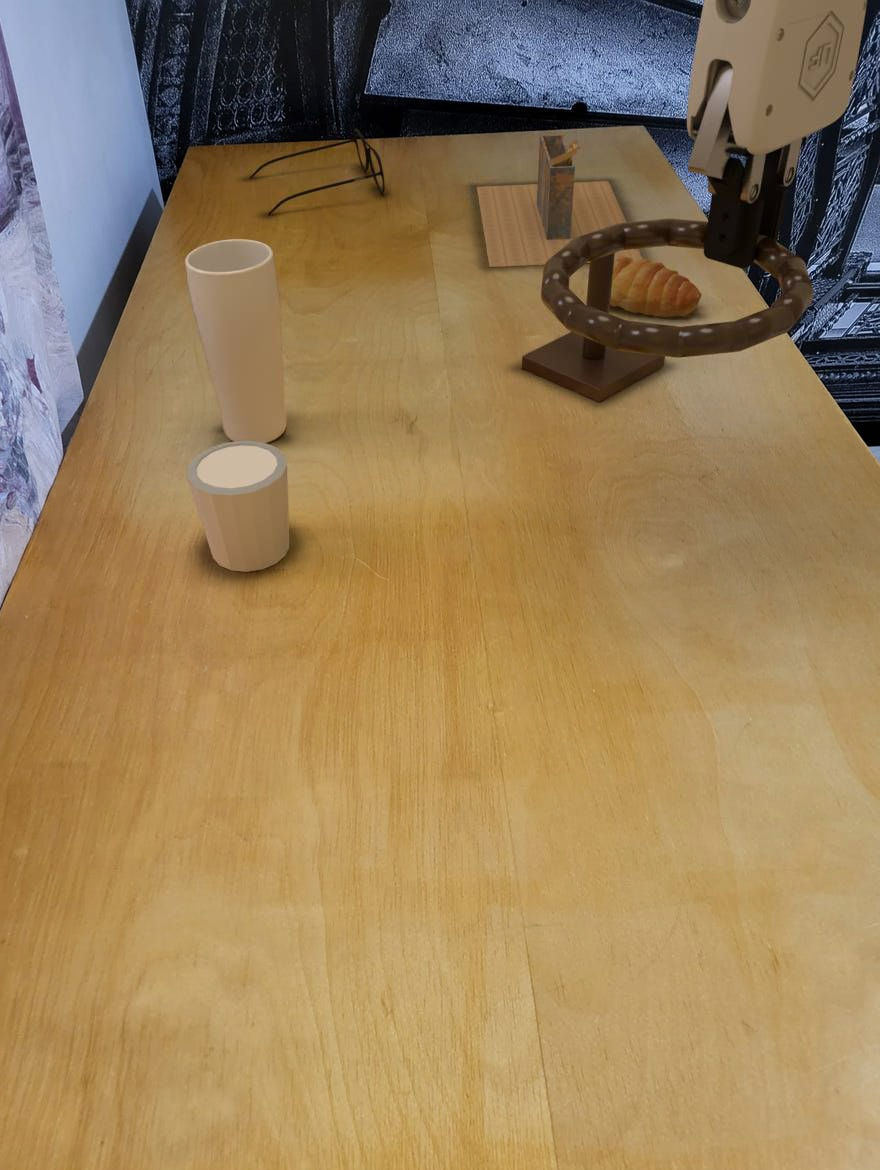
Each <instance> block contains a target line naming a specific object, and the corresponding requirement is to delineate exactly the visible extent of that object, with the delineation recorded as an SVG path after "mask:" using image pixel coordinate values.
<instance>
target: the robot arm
mask: <svg viewBox="0 0 880 1170" xmlns="http://www.w3.org/2000/svg"><path fill="white" fill-rule="evenodd" d="M867 5H868V0H704V1H703V5H702V10H701V14H700V20H699V26H698V30H697V36H696V42H695V48H694V54H693V60H692V67H691V72H690V73H691V74H690V81H689V89H688V96H687V97H688V98H687V108H686V109H687V111H686V130H687V133H688V135H689V137H690V138H691V139H692V140H693V141H694V144H693V146H692V150H691V153H690V157H689V159H688V164H687V165H688V166H687V167H688V171H690V172H692V173H696V174H699V175H704V176H706V178H707V180H708V181H707V192H708V193H709V194H710V195H711V199H710V205H709V212H708V219H707V222H708V225H707V231H706V238H705V245H704V249H703V255H704V257H705V258H706V259H708V260H711V261H715V262H719V263H722V264H724V265H728V266H731V267H734V268H737V269H740V270H746V269H747V268H750V267H751V266H752V265H753V264H754V262H753V261H754V256H755V251H756V245H757V240H758V234H761V235H765V236H768V237H770V238H772V239H774V240H775V241H776V242H778V240H779V236H780V231H781V225H782V220H783V215H784V209H785V206H786V205H785V204H786V199H787V194H788V190H789V189H788V188H786V187H788V186H789V185H791V184H792V182H793V180H794V178H795V175H796V171H797V167H798V162H799V157H800V152H801V150H802V148H803V147H804V146H805V144H806V142H807V140H808V138H809V137H810V136H811V135H812V134H814V133H816V132H818V131H820V130H823V129H824V128H826V127H828V126H829V125H831V124H833V123H835V122H836V121H837V120H838V119H839V118H841V117H842V116H843V114H844V113H845V111H846V110H847V108H848V105H849V102H850V98H851V95H852V94H851V93H852V89H853V84H854V79H855V73H856V68H857V63H858V58H859V51H860V47H861V41H862V36H863V30H864V23H865V17H866V11H867ZM732 154H733V155H737V156H740V157H745V162H744V164H743V162H742V160H741V159H740V158H738V157H734V156H732ZM782 186H783V187H782Z"/></svg>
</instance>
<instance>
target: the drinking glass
mask: <svg viewBox="0 0 880 1170" xmlns="http://www.w3.org/2000/svg"><path fill="white" fill-rule="evenodd" d="M184 266H185V272H186V273H185V274H186V281H187V289H188V293H189V300H190V304H191V310H192V314H193V318H194V323H195V325H196V329H197V333H198V336H199V337H198V338H199V340H200V343H201V347H202V351H203V355H204V358H205V362H206V366H207V369H208V373H209V376H210V379H211V383H212V387H213V390H214V395H215V398H216V402H217V405H218V410H219V414H220V419H221V425H222V430H223V433H224V435H225V437H227V439H229V440H230V441H231V442H235V441H257V442H263V443H266V444H268V443H270V442H273V441H274V440H276V439H278V438H279V437H281V436H282V434H284V433H285V431H286V429H287V423H288V420H287V419H288V418H287V411H286V403H285V385H284V359H283V358H284V357H283V331H282V328H283V327H282V308H281V307H282V306H281V295H280V294H281V293H280V287H279V279H278V273H277V267H276V261H275V256H274V251H273V249H272V248H271V247H270V246H269V245H268V244H266V243H264V242H261V241H259V240H254V239H246V238H245V239H243V238H230V239H223V240H217V241H212V242H209V243H206V244H203V245H199V246H198V247H196V248H194V249H193V250H192V251H190V252H188V254H186V257H185V259H184Z"/></svg>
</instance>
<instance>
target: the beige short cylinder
mask: <svg viewBox="0 0 880 1170" xmlns="http://www.w3.org/2000/svg"><path fill="white" fill-rule="evenodd" d="M186 474H187V481H188V485H189V487H190V490H191V494H192V498H193V500H194V503H195V506H196V509H197V512H198V515H199V520H200V522H201V525H202V529H203V532H204V534H205V537H206V541H207V543H208V544H207V545H208V547H209V550H210V552H211V557H212V558H213V560H214V561H215V562H216V563H217V564H218V566H220V567H222V568H225V569H227V570H230V571H232V572H242V573H243V572H244V573H248V572H249V573H250V572H255V571H261V570H265V569H266V568H269V567H271V566H274V565H276V564H278V563H279V562H280V561H281V560H282V559H283V558H285V557H286V555H287V553H288V551H289V549H290V519H289V481H288V479H289V478H288V463H287V458H286V454H285V453H283V452H282V451H281V450H280V449H279V447H277V446H274V445H271V444H269V443H263V442H257V441H235V442H234V441H229V442H223V443H220V444H218V445H214V446H212V447H209V448H206V449H205V450H203V451H202V452H200V453H199V454H197V455H196V456H195V457H193V459H192V460H191V462H190V463H189V464H188V466H187V467H186Z"/></svg>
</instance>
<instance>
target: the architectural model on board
mask: <svg viewBox="0 0 880 1170" xmlns="http://www.w3.org/2000/svg"><path fill="white" fill-rule="evenodd" d="M577 144H579V139H574V140H573V141H572V142H569V143H568V145H567V144H566V140H564V134H543V135H539V149H538V170H537V171H538V172H537V183H533V184H532V183H531V184H510V185H509V184H507V185H486V186H476V191H477V198H478V205H479V210H480V216H481V223H482V229H483V236H484V241H485V242H484V243H485V247H486V253H487V254H486V255H487V261H488V267H489V268H498V267H499V268H502V267H523V266H526V267H527V266H544V265H545V263H546V262H547V261H548V260H549V259H550V258H551V257H552V256H554V255H555V254H556V253H557V252H558V251H560V250H561V249H562V248H563V247H564V246H566V245H567V244H568V243H569V242H570V241H572V240H573V239H574V238H576V237H579V236H582V235H585V234H588V233H591V232H594V231H597V230H600V229H603V228H606V227H609V226H612V225H615V224H619V223H628V222H627V220H626V218H625V215H624V213H623V211H622V208H621V205H620V204H619V202H618V200H617V197H616V195H615V192H614V190H613V188H612V186H611V183H610V181H608V180H601V181H581V182H580V181H579V182H578V181H577V182H575V173H576V166H575V165H573V159H572V158H573V156H575V155H577V154H578V153H577V151H578V150H580V149H581V145H578V146H577ZM567 146H568V147H567ZM621 256H623V257H624V256H625V257H629V258H631V259H632V260H634V261H638V260H640V259H643V256H642V254H641V252H640V250H639V249H630V250H621V251H618V252H615V257H614V261H615V260H616V259H618V258H620V257H621ZM585 264H590V261H589V262H586V263H585Z"/></svg>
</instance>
